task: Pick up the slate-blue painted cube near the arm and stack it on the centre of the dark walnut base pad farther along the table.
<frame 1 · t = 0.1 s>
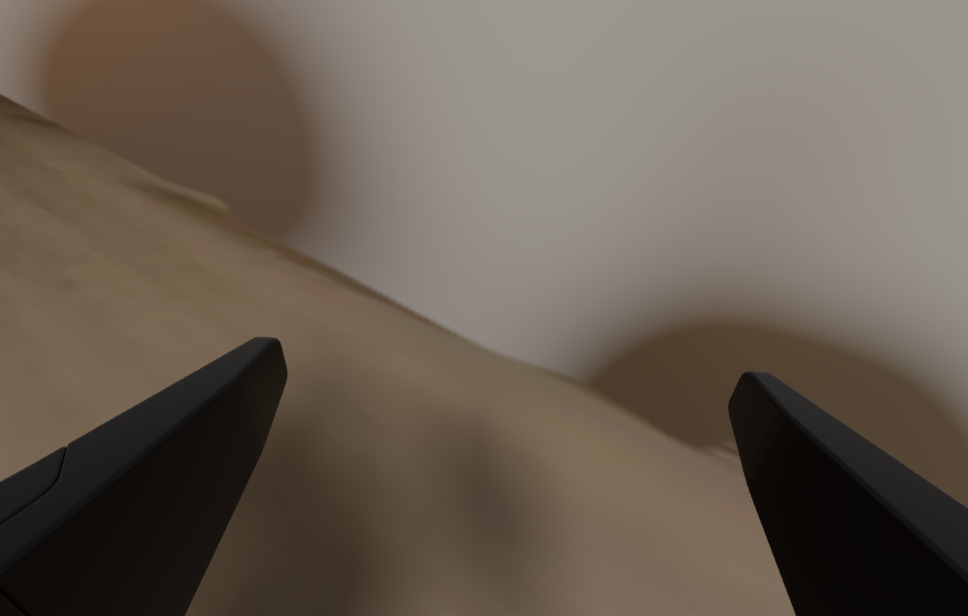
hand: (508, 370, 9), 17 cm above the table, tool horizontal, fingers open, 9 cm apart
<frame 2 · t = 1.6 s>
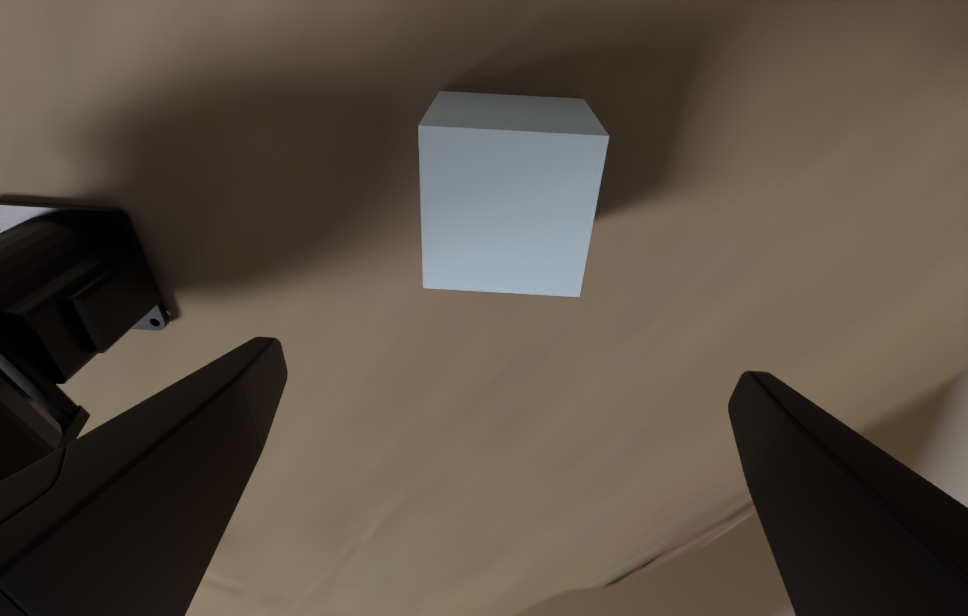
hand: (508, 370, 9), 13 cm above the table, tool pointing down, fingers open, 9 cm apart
slate cube: (506, 165, 20), on the table
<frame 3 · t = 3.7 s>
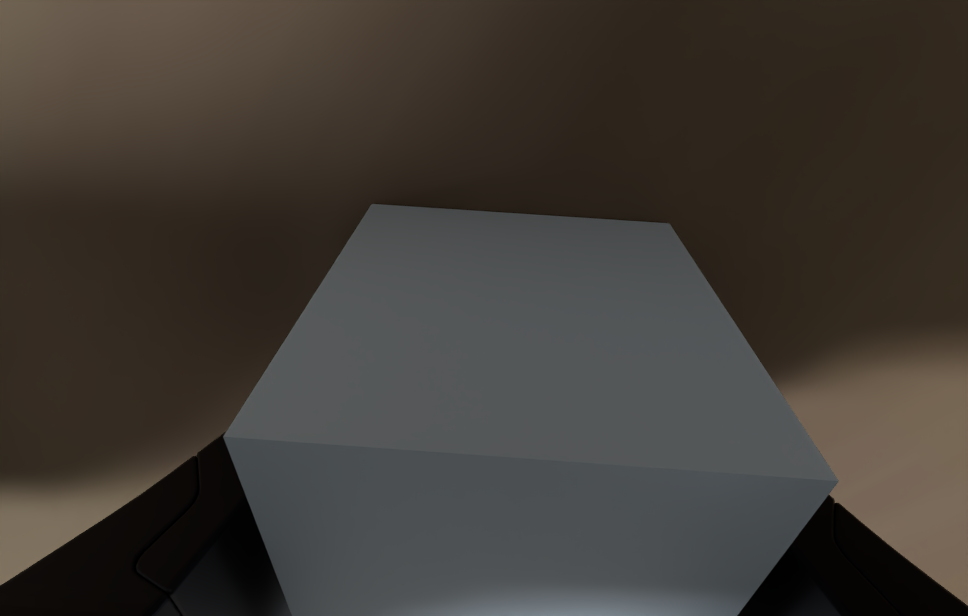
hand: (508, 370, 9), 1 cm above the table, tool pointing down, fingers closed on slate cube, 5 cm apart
slate cube: (508, 332, 10), on the table, touching gripper
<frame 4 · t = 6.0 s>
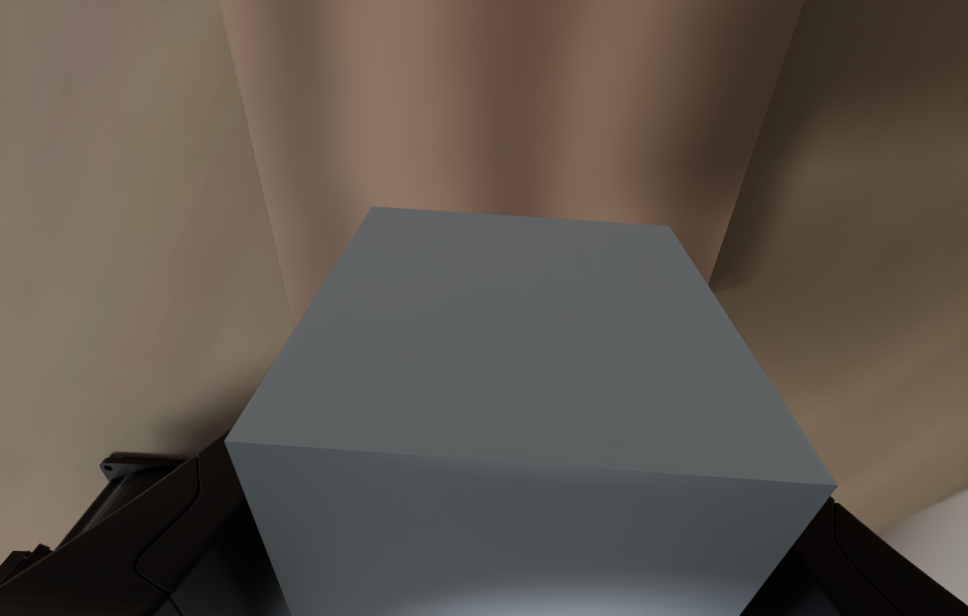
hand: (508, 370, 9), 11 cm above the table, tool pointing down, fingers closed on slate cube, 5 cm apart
slate cube: (508, 334, 10), point 10 cm above the table, touching gripper
walnut base: (500, 112, 17), on the table
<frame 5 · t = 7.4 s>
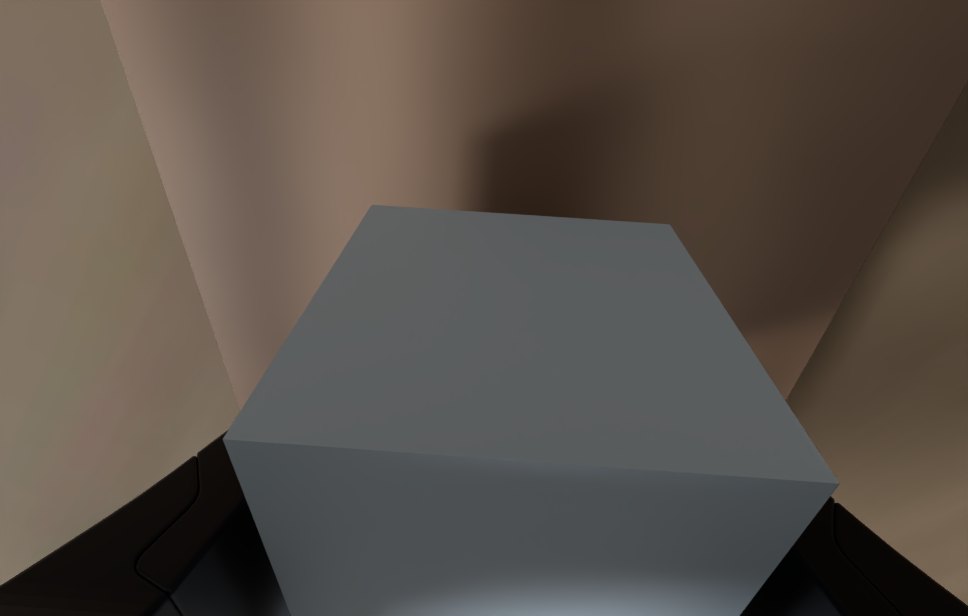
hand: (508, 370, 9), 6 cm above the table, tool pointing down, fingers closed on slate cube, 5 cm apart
slate cube: (508, 333, 10), point 5 cm above the table, touching gripper
walnut base: (511, 234, 14), on the table
when the fingers open (6 cm above the table, at t = 8.3 s): slate cube drops 2 cm, resting on walnut base.
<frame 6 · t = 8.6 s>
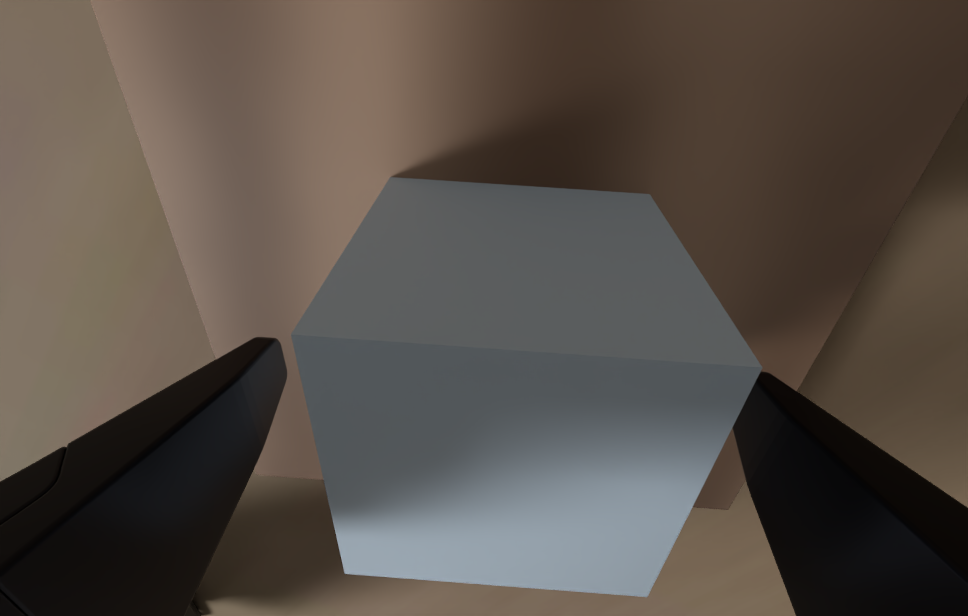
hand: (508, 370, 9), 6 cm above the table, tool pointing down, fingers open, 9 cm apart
slate cube: (509, 294, 12), point 3 cm above the table, touching walnut base
walnut base: (510, 238, 14), on the table
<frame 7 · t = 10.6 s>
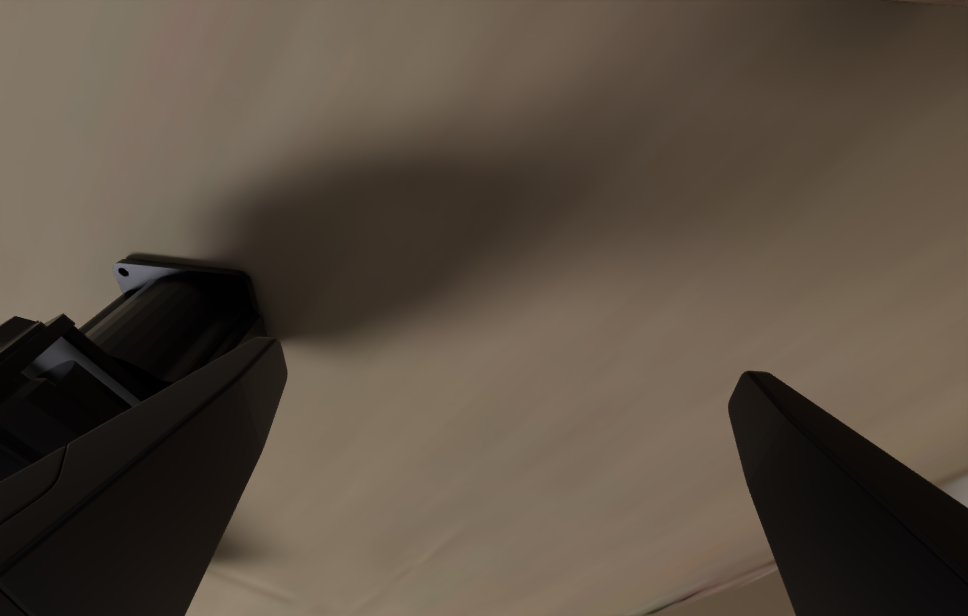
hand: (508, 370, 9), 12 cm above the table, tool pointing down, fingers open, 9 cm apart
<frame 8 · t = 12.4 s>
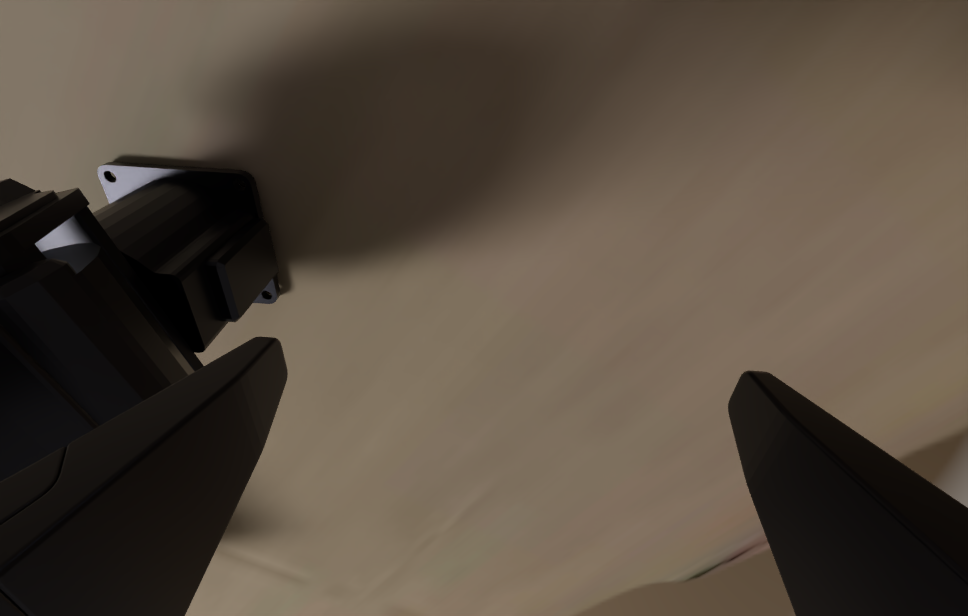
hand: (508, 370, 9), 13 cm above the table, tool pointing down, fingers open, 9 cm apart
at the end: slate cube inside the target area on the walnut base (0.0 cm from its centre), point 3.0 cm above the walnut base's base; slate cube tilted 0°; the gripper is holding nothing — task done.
